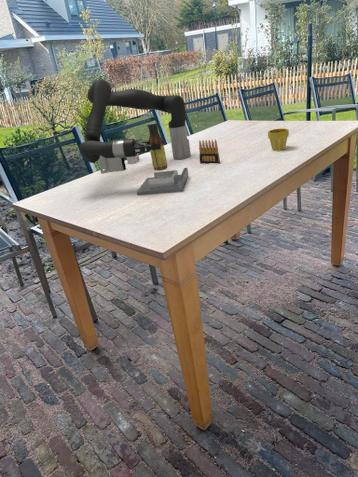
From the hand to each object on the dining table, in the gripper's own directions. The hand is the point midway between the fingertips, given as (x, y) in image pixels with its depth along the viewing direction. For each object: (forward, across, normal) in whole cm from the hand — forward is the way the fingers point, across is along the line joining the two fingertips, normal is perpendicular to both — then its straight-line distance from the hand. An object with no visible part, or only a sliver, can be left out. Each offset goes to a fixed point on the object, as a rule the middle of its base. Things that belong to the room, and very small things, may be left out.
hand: (162, 144), depth 157 cm
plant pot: (+52, +45, +18) cm, 71 cm away
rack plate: (-2, 0, +18) cm, 18 cm away
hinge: (-38, +35, +19) cm, 55 cm away
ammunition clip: (+16, +31, +18) cm, 40 cm away
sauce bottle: (-2, 0, +11) cm, 11 cm away
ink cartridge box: (-31, +52, +19) cm, 63 cm away
